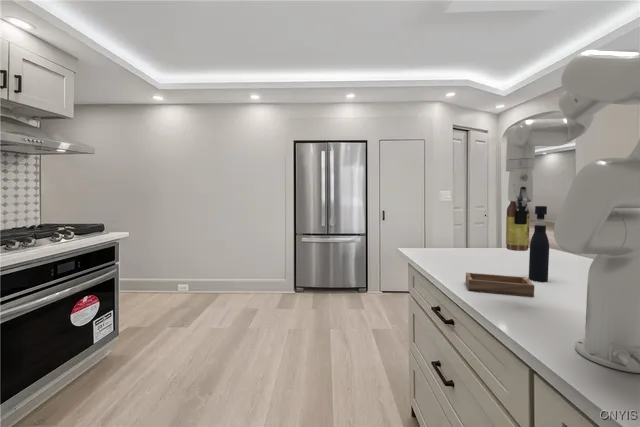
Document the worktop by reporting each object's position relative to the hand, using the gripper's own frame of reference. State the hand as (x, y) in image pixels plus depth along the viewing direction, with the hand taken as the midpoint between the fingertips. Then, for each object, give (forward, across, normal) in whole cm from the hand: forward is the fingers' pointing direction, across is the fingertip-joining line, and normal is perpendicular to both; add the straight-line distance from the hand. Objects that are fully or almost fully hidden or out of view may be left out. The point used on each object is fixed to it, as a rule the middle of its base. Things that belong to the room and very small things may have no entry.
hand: (517, 222), depth 99 cm
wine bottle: (+26, +33, -15) cm, 45 cm away
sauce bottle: (+9, 0, 0) cm, 9 cm away
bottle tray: (+26, +13, +3) cm, 29 cm away
